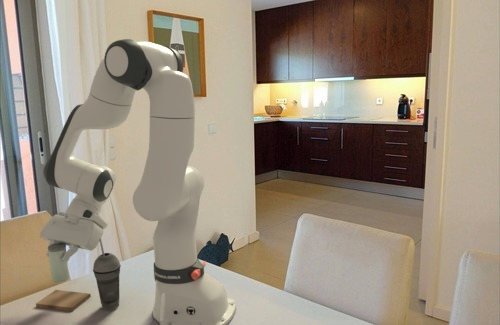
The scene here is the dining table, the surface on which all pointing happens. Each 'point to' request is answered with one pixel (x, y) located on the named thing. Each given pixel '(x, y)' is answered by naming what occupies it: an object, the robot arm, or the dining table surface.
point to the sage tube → (58, 263)
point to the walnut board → (63, 300)
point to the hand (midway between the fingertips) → (56, 258)
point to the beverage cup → (107, 279)
